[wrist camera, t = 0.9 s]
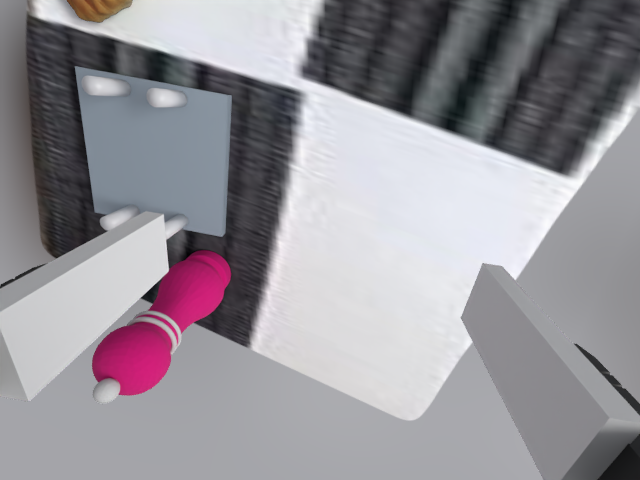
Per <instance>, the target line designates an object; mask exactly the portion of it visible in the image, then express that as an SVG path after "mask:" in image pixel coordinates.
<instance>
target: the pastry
mask: <svg viewBox="0 0 640 480" xmlns="http://www.w3.org/2000/svg"><path fill="white" fill-rule="evenodd" d="M67 1H68V3H69V4H70V6H71V7H72V8H73V9H74V10H75V13H76V14H77V16H78V17H79V18H81V19H83V20H86V21H93V22H99V23H100V22H103V21H104V20H105V19H107V18H109V17H110V16H111V15H114V14H117V13H118V12H119V11H120V10H122V9H124V8H127V7H130V6H131V4H132V1H133V0H67Z"/></svg>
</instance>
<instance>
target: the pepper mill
mask: <svg viewBox="0 0 640 480" xmlns="http://www.w3.org/2000/svg"><path fill="white" fill-rule="evenodd" d="M230 279H231V271H230V267H229V265H228V263H227V262H226V261H225V259H224V258H222V257H221V256H220V255H218V254H216V253H215V252H212V251H207V250H201V251H196V252H194V253H192V254H191V255H190V256H189V257H188V258H187V259H186V260H185V261H181V262H178V263H177V264H175V265H173V266H172V267H171V268H170V269H169V272H168V273H167V274H165V275H164V277H163V279H162V281H161V283H160V287H159V291H158V295H157V298H156V300H155V302H154V304H153V305H152V306H151V308H150V309H149V310H148V311H144V312H141V313H139V314H137V315H136V316H135V317H134V318H133V320H131V321H130V322H129V323H128V324H127V326H124V327H121V328H119V329H116V330H115V331H113V332H111V333H110V334H109V335H107V336H106V337H105V338H104V339H103V340H102V342H101V343H100V344H99V345H98V347H97V349H96V351H95V353H94V355H93V360H92V369H93V373H94V376H95V378H96V380H97V381H98V382H99V383H98V384H97V385H96V386H95V388H94V390H93V397H94V399H95V401H97V402H99V403H108V402H111V401H112V400H114V399H115V398H116V397H117V396H118V394H119V395H136V394H140V393H143V392H145V391H147V390H149V389H151V388H152V387H154V386H155V385H156V384H157V383H158V382H159V381H160V380H161V379H162V378H163V377H164V375H165V374H166V372H167V370H168V368H169V366H170V362H171V355H172V354H173V353H174V352H175V350H176V348H177V347H178V346H179V344H180V342H181V338H182V336H181V334H182V332H183V331H184V330H185V329H186V328H187V327H188V326H189V325H190V324H192V323H193V322H195V321H197V320H199V319H201V318H204V317H205V316H207V315H209V314H210V313H211V312H213V311H214V310H215V309H216V307H217V306H218V305H219V304H220V302H221V300H222V298H223V295H224V289H225V288H226V286H227V285H228V283H229V281H230Z"/></svg>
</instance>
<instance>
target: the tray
mask: <svg viewBox="0 0 640 480" xmlns="http://www.w3.org/2000/svg"><path fill="white" fill-rule="evenodd" d="M75 71H76V79H77V86H78V93H79V100H80V108H81V115H82V122H83V130H84V137H85V144H86V151H87V159H88V166H89V173H90V180H91V188H92V195H93V202H94V210H95V212H96V213H101V214H106V216H104V217H102V218H101V219H100V224H101V226H102V227H103V228H104V229H105V230H109V231H110V230H111V229H113V228H115V227H117V226H119V225H121V224H123V223H125V222H126V221H128V220H130V219H132V218H134V217H136V216H138V215H140V214H141V213H143V212H145V211H148V212H154V213H160V214H164V222H165V234H166V240H167V239H168V238H170V237H171V236H172V235H174V234H175V233H176V232H178V231H179V230H181V229H184V230H189V231H194V232H200V233H205V234H210V235H215V236H220V237H222V236H223V235H224V234H225V227H226V207H227V186H228V165H229V144H230V124H231V103H232V95H226V94H221V93H216V92H210V91H205V90H200V89H195V88H189V87H184V86H179V85H173V84H168V83H163V82H157V81H152V80H147V79H142V78H136V77H131V76H126V75H120V74H115V73H110V72H104V71H99V70H94V69H89V68H83V67H76V66H75Z"/></svg>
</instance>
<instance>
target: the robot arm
mask: <svg viewBox="0 0 640 480" xmlns="http://www.w3.org/2000/svg"><path fill="white" fill-rule="evenodd" d="M168 272H169V267H168V256H167V245H166V234H165V222H164V214H160V213H154V212H148V211H145V212H143V213H141V214H140V215H138V216H136V217H134V218H132V219H130V220H128V221H126V222H125V223H123V224H121V225H119V226H117V227H115V228H113V229H111V230H110V231H108V232H106V233H104V234H102V235H100V236H98V237H96V238H95V239H93V240H91V241H89V242H87V243H85V244H83V245H81V246H80V247H78V248H76V249H74V250H72V251H70V252H68V253H66V254H64V255H63V256H61V257H59V258H57V259H55V260H53V261H51V262H50V263H47V264H43V265H40V266H37V267H34V268H32V269H30V270H28V271H26V272H24V273H22V274H20V275H18V276H16V277H15V279H11V280H9V281H7V282H5V283H3V284H1V286H0V397H4V398H10V399H15V400H21V401H27V402H29V401H30V400H31V399H32V398H33V397H34V396H36V394H38V393H39V392H40V391H41V390H42V389H43V388H44V387H45V386H46V385H47V384H48V383H49V382H51V381H52V380H53V379H54V378H55V377H56V376H57V375H58V374H59V373H60V372H61V371H62V370H63V369H64V368H66V367H67V366H68V365H69V364H70V363H71V362H72V361H73V360H74V359H75V358H76V357H77V356H78V355H80V354H81V353H82V352H83V351H84V350H85V349H86V348H87V347H88V346H89V345H90V344H91V343H92V342H94V341H95V340H96V339H97V337H99V336H100V335H101V334H102V333H103V332H104V331H105V330H106V329H108V328H109V327H110V326H111V325H112V324H113V323H114V322H115V321H116V320H117V319H118V318H119V317H120V316H121V315H123V313H125V312H126V311H127V310H128V309H129V308H130V307H131V306H132V305H133V304H134V303H135V302H137V301H138V300H139V299H140V298H141V297H142V296H143V295H144V294H145V293H146V292H147V291H148V290H149V289H150V288H152V287H153V286H154V285H155V284H156V283H157V282H158V281H159V280H160V279H161V278H162V277H163V276H164V275H165V274H167V273H168ZM461 319H462V321H463V323H464V325H465V327H466V329H467V331H468V333H469V335H470V337H471V339H472V341H473V343H474V345H475V347H476V349H477V350H478V353H479V354H480V356H481V358H482V360H483V362H484V364H485V366H486V368H487V370H488V372H489V374H490V376H491V378H492V380H493V382H494V384H495V386H496V388H497V389H498V391H499V394H500V395H501V397H502V399H503V401H504V403H505V405H506V407H507V409H508V411H509V413H510V415H511V417H512V419H513V421H514V423H515V425H516V427H517V429H518V431H519V433H520V435H521V437H522V439H523V441H524V442H525V444H526V446H527V448H528V450H529V452H530V454H531V456H532V458H533V460H534V462H535V464H536V466H537V468H538V470H539V472H540V474H541V476H542V478H543V480H640V404H639V403H638V402H637V401H636V399H635V398H634V397H633V396H632V395H631V394H630V393H629V392H628V391H627V390H626V389H623V388H622V385H621V384H620V383H619V382H618V381H617V380H616V379H615V378H614V377H613V376H611V375H610V372H609V371H608V370H607V369H606V368H605V367H604V366H603V365H602V364H601V363H600V362H599V361H598V360H597V359H596V358H595V357H594V356H592V355H591V354H590V353H588V352H587V351H586V350H584V349H583V348H581V347H580V346H579V345H577V344H573V343H572V342H571V341H570V339H569V338H568V337H567V336H566V335H565V334H564V333H563V332H562V331H561V330H560V329H559V328H558V326H557V325H556V324H555V323H554V322H553V321H552V320H551V319H550V318H549V317H548V316H547V315H546V313H545V312H544V311H543V310H542V309H541V308H540V307H539V306H538V305H537V304H536V303H535V302H534V301H533V299H532V298H531V297H530V296H529V295H528V294H527V293H526V292H525V291H524V290H523V289H522V287H521V286H520V285H519V284H518V283H517V282H516V281H515V280H514V279H513V278H512V277H511V276H510V274H509V273H508V272H507V271H506V270H505V269H504V268H503V267H502V266H497V265H491V264H484V263H483V264H482V266H481V269H480V271H479V274H478V276H477V279H476V281H475V284H474V286H473V289H472V291H471V294H470V296H469V299H468V301H467V304H466V306H465V309H464V311H463V314H462V316H461Z"/></svg>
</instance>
